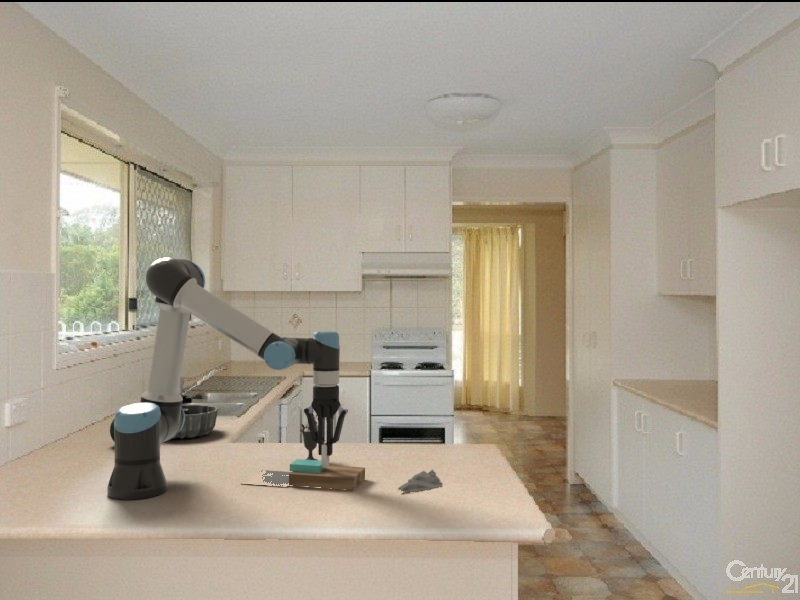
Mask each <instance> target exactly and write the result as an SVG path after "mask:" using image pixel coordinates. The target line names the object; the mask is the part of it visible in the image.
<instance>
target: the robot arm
mask: <svg viewBox="0 0 800 600" xmlns="http://www.w3.org/2000/svg"><path fill="white" fill-rule="evenodd" d="M145 283H146V287H147V289H148V290H149V291H150V292H151V294H152V295H154V297H155V300H154V303H155V305H156V306H157V307H158V309H159V311H158V312H159V313H158V318H157V324H156V332H155V340H154V345H153V346H154V347H153V353H152V357H151V358H152V359H151V366H150V374H149V380H148V386H147V390H146V391H144V392H143V393H142V394H141V396H140V401H139V402H136V403H132V404H130V405H128V404H127V405H123V406H121V407H120V408H118V409H117V410H116V412H115V413H114V414H115V415H114V418H115V421H114V436H115V442H114V464H113V465H114V466H113V469H112V472H111V475H110V478H109V480H108V484H107V491H106V492H107V497H108V498H111V499H115V500H125V501H126V500H133V501H134V500H143V499H149V498H153V497H156V496H159V495H161V494H164V493H165V492H166V491H167V486H168V485H167V484H168V483H167V479H166V476H165V472H164V470H163V466H162V464H161V444H162V443H165V442H168V441H170V440H173V439H172V438H173V437H174V436H176V435H177V434H178V433H179V432H180V430H181V429H182V427H183V425H184V422H185V413H184V410H183V409H182V405H183V401H184V399H183V397H182V396H181V394H180V391H179V390H180V383H181V377H182V370H183V363H184V357H185V352H186V351H185V350H186V344H187V343H186V342H187V338H188V329H189V323H190V316H191V315H192V316H195V317H196V318H197V319H199V320H200V321H202V322H204V323H205V324H207V325H208V326H209V327H212V328H213V329H215V330H216V331H218V332H219V333H221V334H222V335H225V337H228V338H229V339H231V340H232V341H233V342H236V344H239V346H242V347H243V348H245V349H246V350H248V351H250V352H251V353H253V354H254V355H256V356H257V357H259V358H260V359H262V360H263V361H264V362H265V364H266V365H267V366H268V367H269V368H270V369H272V370H276V371H282V370H286V369H288V368H290V367H291V366H293V365H312V384H313V386H312V402H311V405H309V406H308V407H305V408H304V409H303V413H304V414H305V416H306V418H307V422H308V424H309V428H310V433H311V437H312V441H313V442H317V445H318V449H317V454H318V455H319V456H321V460H320V461H321V468H327V467H328V466H329V465H330V456H332V455H333V445H334V444H336V443H337V442H339V441H340V436H341V434H342V431H343V430H342V429H343V424H344V421H345V417H346V415H347V414H348V413H349V409H348V408H344V407H343V406H341V402H340V386H339V384H340V351H341V346H340V335H339V333H338V332H336V331H331V330H323V331H322V330H321V331H320V330H318V331H314V332H313V336H312V337H308V338H307V337H304V338H303V337H286V336H283V337H282V336H279V335H278V334H276V333H274V332H273V331H272V330H270V329H268V328H266V327H265V326H263V325H262V324H260V323H259V322H257V321H256V320H254V319H252V318H251V317H249V316H248V315H246V314H245V313H243V312H241V311H240V310H239V309H237V308H235V307H234V306H232V305H231V304H229V303H227V302H226V301H224V300H222V299H221V298H220V297H218V296H216V295H215V294H213V293H212V292H210V291H209V290H207V289H206V288H205V287H206V276H205V274H204V271H203V270H202V268H201V267H200V266H199V264H197V263H195V262H194V261H191V260H188V259H186V258H185V259H184V258H173V257H163V258H158V259H156V260H155V261H153V262H152V263H151V264H150V266H149V267H148V269H147V271H146V273H145ZM314 413H315V414H316V415H318V416H317V425H318V432H317V428H316V423H315V420H316V419H315V418H316V417H315V414H314ZM337 413H338V417H337V420H336V425H335V430H334V420H335V419H334V418H335V415H336V414H337ZM314 417H315V418H314ZM325 426H326V427H325ZM325 428H326V431H325ZM325 434H326V440H325Z"/></svg>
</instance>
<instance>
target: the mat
mask: <svg viewBox="0 0 800 600" xmlns="http://www.w3.org/2000/svg"><path fill="white" fill-rule="evenodd" d="M263 470H264V469H262V470H260V471H261V472H262V471H263ZM265 471H266V473H265V474H263V475H267V474H268V473H269V474H270V473H271V474H272V473H273V475H271V476H272V477H271V476H263V475H262V476H263V477H265V479H264V480H263V482H264V481H265V482H267V483H268V482H269V483H270V482H271V481H272V482H271V484H273V483H274V484H275V485H276V484H277V485H278V484H279V485H280V484H283V483H284V484H285V483H286V484H288V483H289V476H286V475H289V474H290V473H291V472H292V471H282V470H281V471H280V470H279V471H278V470H267V469H265ZM282 475H283V476H282ZM284 475H285V476H284ZM263 477H262V479H263ZM272 486H273V485H272ZM280 486H281V485H280ZM282 486H283V485H282Z"/></svg>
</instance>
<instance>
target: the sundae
mask: <svg viewBox="0 0 800 600" xmlns="http://www.w3.org/2000/svg"><path fill="white" fill-rule="evenodd" d="M314 418H315V423H316V428H317V432H318V421H316V419H317V418H318V415H317V414H316V415H315V416H314ZM301 427H302V428H301V429H300V430H299V432H301V433H302V437H303V446H304V448H305V449H306V450H307V451H308V456H307V458H305V459H304V458H303V459H304V460H318V458H314V454H313V451H314V450H315V449H316V448H317V445H318V443H317V442H313V441H312V437H311V433H310V428H309V424H308V421H307V422H306V423H305V424H303V423H301Z"/></svg>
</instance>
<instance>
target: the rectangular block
mask: <svg viewBox="0 0 800 600" xmlns="http://www.w3.org/2000/svg"><path fill="white" fill-rule="evenodd" d="M324 469H325V468H321V460H319V459H317V460H304V458H303V459H302V458H297V459H295V460H294V461H291V463H289V472H293V471H297V472H311V473H320V472H321V471H323V470H324Z"/></svg>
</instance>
